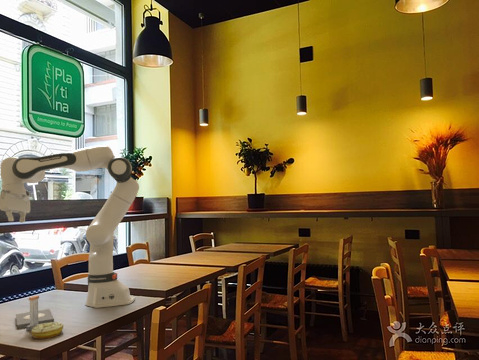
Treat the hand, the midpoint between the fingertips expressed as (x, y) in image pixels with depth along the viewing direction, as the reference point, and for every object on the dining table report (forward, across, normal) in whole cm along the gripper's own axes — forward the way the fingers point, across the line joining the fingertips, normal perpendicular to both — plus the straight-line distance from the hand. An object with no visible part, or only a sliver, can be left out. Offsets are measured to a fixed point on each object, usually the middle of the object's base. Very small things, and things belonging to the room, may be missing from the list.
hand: (17, 221), depth 175 cm
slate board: (+44, -8, -6) cm, 45 cm away
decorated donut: (+48, -27, -20) cm, 59 cm away
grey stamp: (+46, -20, -12) cm, 52 cm away
